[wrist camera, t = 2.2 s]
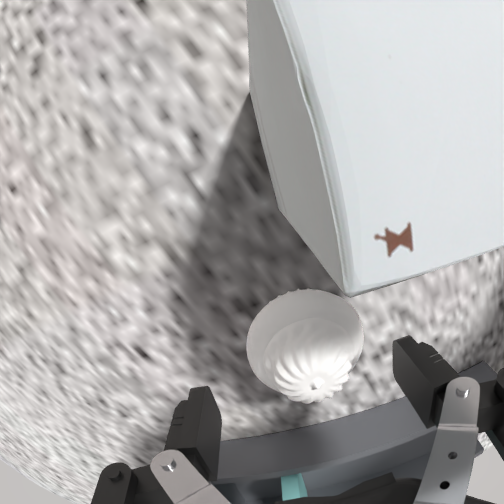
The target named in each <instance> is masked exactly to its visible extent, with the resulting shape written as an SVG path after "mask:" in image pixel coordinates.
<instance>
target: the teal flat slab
mask: <svg viewBox="0 0 504 504" xmlns="http://www.w3.org/2000/svg"><path fill="white" fill-rule="evenodd" d="M281 486H282V498H283V501H284V500H290V499H296V498H301V497H308V496H307V490H306V487H305V484H304V481H303V477H302V474H301V473H299V474H294V475H288V476H283V477H281Z"/></svg>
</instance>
